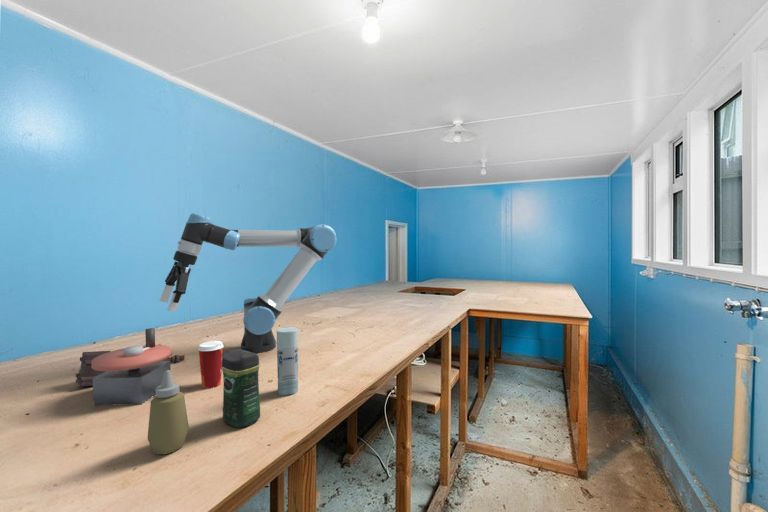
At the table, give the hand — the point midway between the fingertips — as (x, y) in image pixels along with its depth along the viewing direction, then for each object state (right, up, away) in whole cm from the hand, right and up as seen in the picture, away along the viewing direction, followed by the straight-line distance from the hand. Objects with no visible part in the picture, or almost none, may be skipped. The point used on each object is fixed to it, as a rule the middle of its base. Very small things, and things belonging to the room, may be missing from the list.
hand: (167, 306), depth 127 cm
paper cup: (+24, -24, -14) cm, 37 cm away
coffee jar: (+44, -25, -37) cm, 63 cm away
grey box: (+3, -25, -21) cm, 33 cm away
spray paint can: (+51, -25, -20) cm, 60 cm away
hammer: (-9, -24, -3) cm, 26 cm away
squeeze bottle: (+32, -26, -49) cm, 64 cm away
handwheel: (+3, -16, -21) cm, 27 cm away
